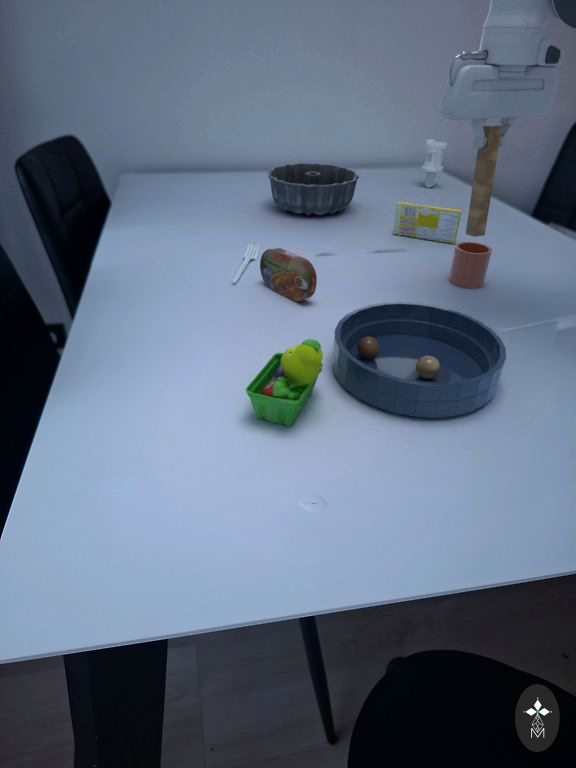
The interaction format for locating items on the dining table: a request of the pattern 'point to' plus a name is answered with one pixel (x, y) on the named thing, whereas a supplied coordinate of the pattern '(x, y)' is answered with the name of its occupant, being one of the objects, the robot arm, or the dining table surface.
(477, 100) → the robot arm
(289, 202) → the bundt pan
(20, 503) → the dining table surface
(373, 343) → the bead
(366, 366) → the round cake pan
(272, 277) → the tin
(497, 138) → the stirring stick
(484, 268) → the pot
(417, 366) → the bead
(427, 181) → the white tall piece
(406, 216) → the candy box
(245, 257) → the fork
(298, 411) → the fruit basket
